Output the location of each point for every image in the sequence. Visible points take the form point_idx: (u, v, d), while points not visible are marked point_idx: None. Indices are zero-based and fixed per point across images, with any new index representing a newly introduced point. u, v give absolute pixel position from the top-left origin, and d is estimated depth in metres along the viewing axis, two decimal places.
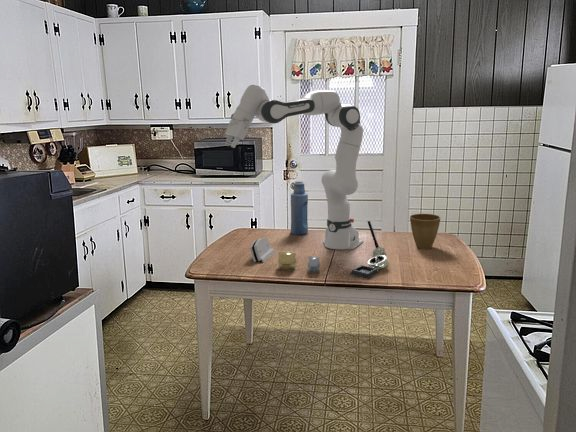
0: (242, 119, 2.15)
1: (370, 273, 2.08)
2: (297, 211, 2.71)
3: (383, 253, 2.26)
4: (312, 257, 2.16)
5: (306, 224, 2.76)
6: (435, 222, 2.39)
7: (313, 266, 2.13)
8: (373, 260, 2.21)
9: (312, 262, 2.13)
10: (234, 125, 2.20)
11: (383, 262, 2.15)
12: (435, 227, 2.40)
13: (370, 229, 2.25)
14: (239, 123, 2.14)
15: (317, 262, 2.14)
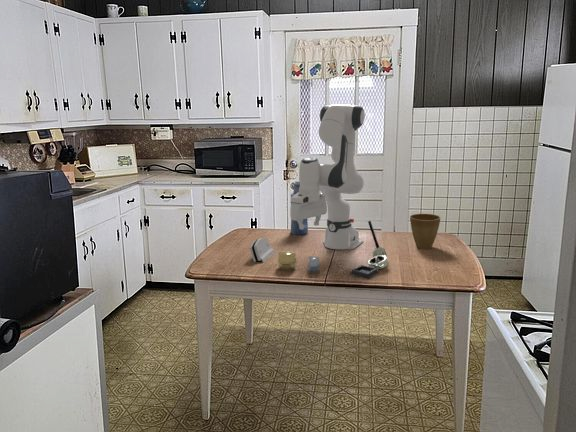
0: None
1: (370, 273, 2.08)
2: None
3: (383, 253, 2.26)
4: (312, 257, 2.16)
5: (306, 224, 2.76)
6: (435, 222, 2.39)
7: (313, 266, 2.13)
8: (373, 260, 2.21)
9: (312, 262, 2.13)
10: (309, 206, 2.07)
11: (383, 262, 2.15)
12: (435, 227, 2.40)
13: (371, 229, 2.25)
14: (319, 202, 2.12)
15: (317, 262, 2.14)
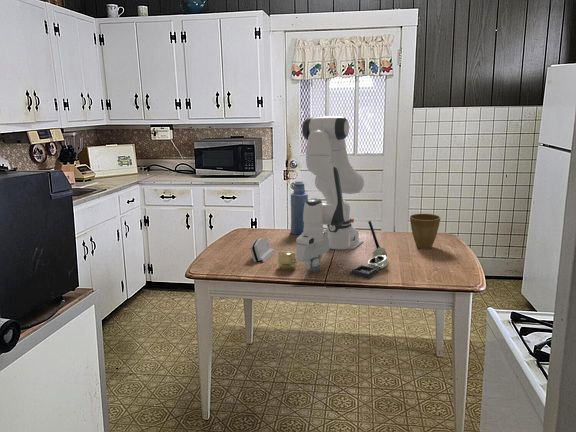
0: None
1: (370, 273, 2.08)
2: (297, 211, 2.71)
3: (384, 253, 2.26)
4: None
5: None
6: (435, 222, 2.39)
7: (313, 266, 2.13)
8: (373, 260, 2.21)
9: (312, 262, 2.13)
10: (313, 246, 2.12)
11: (383, 262, 2.15)
12: (435, 227, 2.40)
13: (371, 229, 2.25)
14: (323, 241, 2.16)
15: (317, 262, 2.14)
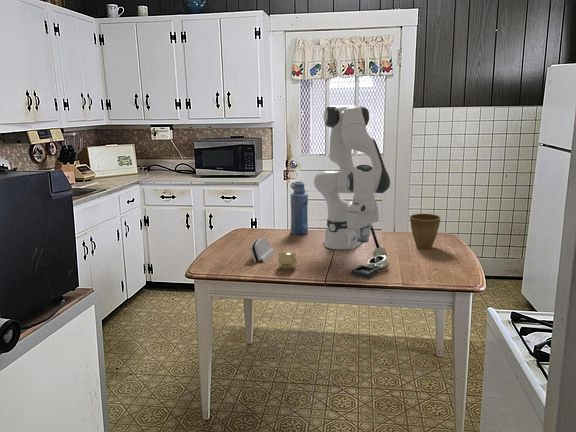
0: None
1: (370, 273, 2.08)
2: (297, 211, 2.71)
3: (383, 253, 2.26)
4: None
5: (306, 224, 2.76)
6: (435, 222, 2.39)
7: (363, 235, 2.05)
8: (373, 260, 2.21)
9: (362, 232, 2.05)
10: (364, 215, 2.03)
11: (382, 262, 2.15)
12: (435, 227, 2.40)
13: (371, 229, 2.25)
14: (373, 209, 2.08)
15: (367, 231, 2.05)
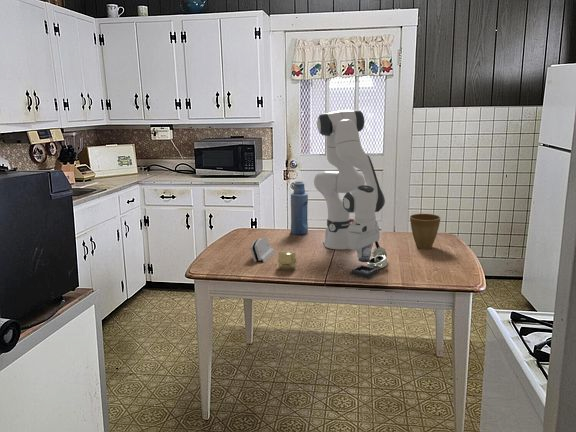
0: None
1: (370, 273, 2.08)
2: (297, 211, 2.71)
3: (383, 253, 2.26)
4: None
5: (306, 224, 2.76)
6: (435, 222, 2.39)
7: (364, 255, 2.07)
8: (373, 260, 2.21)
9: (364, 251, 2.07)
10: (365, 235, 2.05)
11: (382, 262, 2.15)
12: (435, 227, 2.40)
13: None
14: (374, 229, 2.10)
15: (368, 251, 2.07)
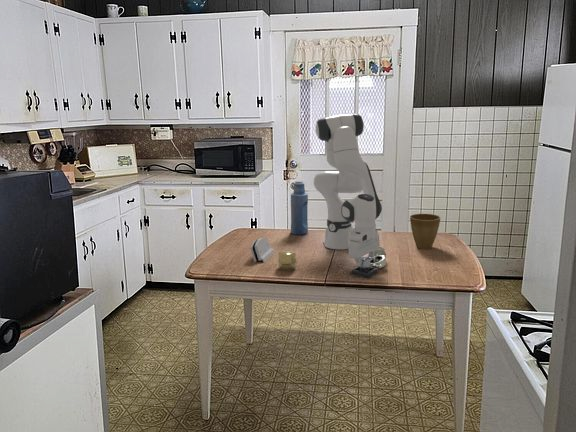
0: None
1: (370, 273, 2.08)
2: (297, 211, 2.71)
3: (383, 253, 2.26)
4: (362, 258, 2.11)
5: (306, 224, 2.76)
6: (435, 222, 2.39)
7: (364, 267, 2.08)
8: (372, 260, 2.22)
9: (364, 263, 2.08)
10: (365, 243, 2.06)
11: (381, 262, 2.15)
12: (435, 227, 2.40)
13: None
14: (374, 237, 2.11)
15: (368, 263, 2.09)
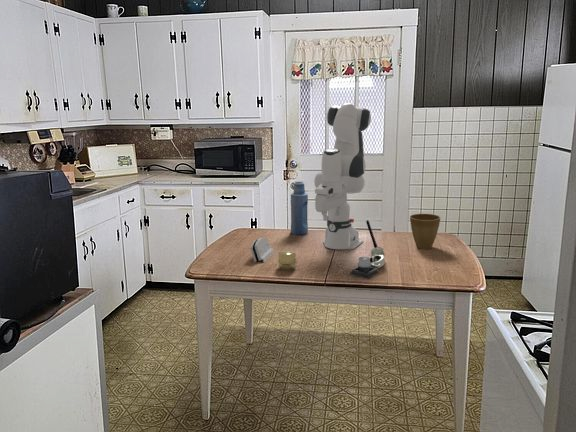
0: None
1: (370, 273, 2.08)
2: (297, 211, 2.71)
3: (381, 253, 2.26)
4: (362, 258, 2.11)
5: (306, 224, 2.76)
6: (435, 222, 2.39)
7: (364, 267, 2.08)
8: (370, 259, 2.22)
9: (363, 263, 2.08)
10: (332, 197, 2.09)
11: (380, 262, 2.16)
12: (435, 227, 2.40)
13: (369, 229, 2.26)
14: (341, 192, 2.14)
15: (368, 262, 2.09)
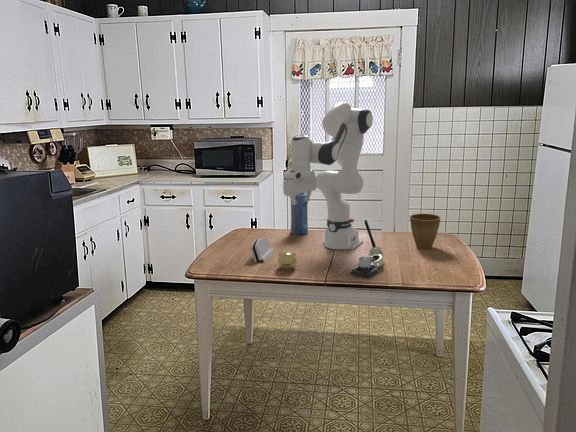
0: None
1: (370, 273, 2.08)
2: (297, 211, 2.71)
3: (380, 252, 2.27)
4: (363, 258, 2.11)
5: (306, 224, 2.76)
6: (435, 222, 2.39)
7: (364, 267, 2.08)
8: None
9: (363, 263, 2.08)
10: (300, 182, 2.14)
11: (378, 261, 2.16)
12: (435, 227, 2.40)
13: (367, 228, 2.27)
14: (310, 178, 2.19)
15: (368, 263, 2.09)
